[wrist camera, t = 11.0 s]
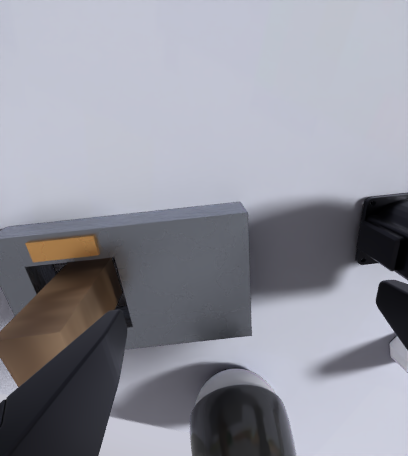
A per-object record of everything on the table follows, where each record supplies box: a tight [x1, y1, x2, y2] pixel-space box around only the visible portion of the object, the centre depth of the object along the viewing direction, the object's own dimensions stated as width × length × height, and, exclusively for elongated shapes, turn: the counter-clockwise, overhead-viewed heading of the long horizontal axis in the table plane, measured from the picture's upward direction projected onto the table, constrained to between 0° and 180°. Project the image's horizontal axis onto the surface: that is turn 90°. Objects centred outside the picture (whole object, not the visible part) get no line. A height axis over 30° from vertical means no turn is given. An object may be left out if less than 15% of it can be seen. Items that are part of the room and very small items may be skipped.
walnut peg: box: [0, 258, 122, 387], centre depth 18 cm, size 4×4×9 cm
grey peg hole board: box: [0, 202, 252, 349], centre depth 21 cm, size 20×12×3 cm, turn 96°
